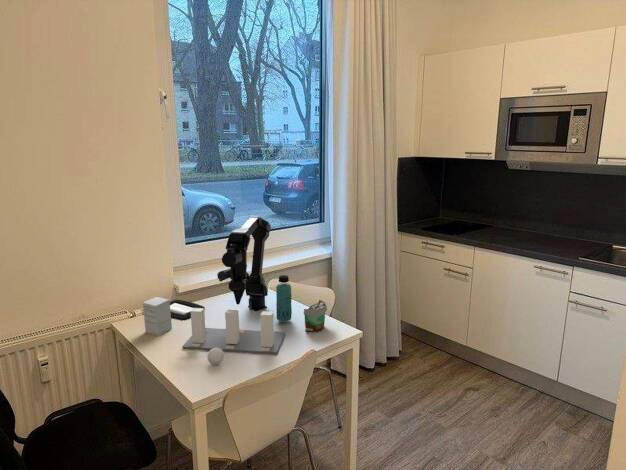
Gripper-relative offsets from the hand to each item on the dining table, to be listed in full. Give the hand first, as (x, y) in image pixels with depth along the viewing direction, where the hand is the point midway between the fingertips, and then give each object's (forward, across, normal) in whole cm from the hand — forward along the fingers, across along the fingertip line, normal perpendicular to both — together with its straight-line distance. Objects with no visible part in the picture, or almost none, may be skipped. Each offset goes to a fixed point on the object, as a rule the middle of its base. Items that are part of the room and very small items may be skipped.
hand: (239, 301), depth 171 cm
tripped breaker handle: (+11, +14, -1) cm, 18 cm away
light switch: (+11, -19, -28) cm, 35 cm away
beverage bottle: (+10, -5, +18) cm, 21 cm away
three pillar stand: (+12, +11, 0) cm, 17 cm away
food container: (+11, +3, +32) cm, 34 cm away
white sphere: (+15, +27, -6) cm, 31 cm away
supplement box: (+12, 0, -32) cm, 34 cm away
